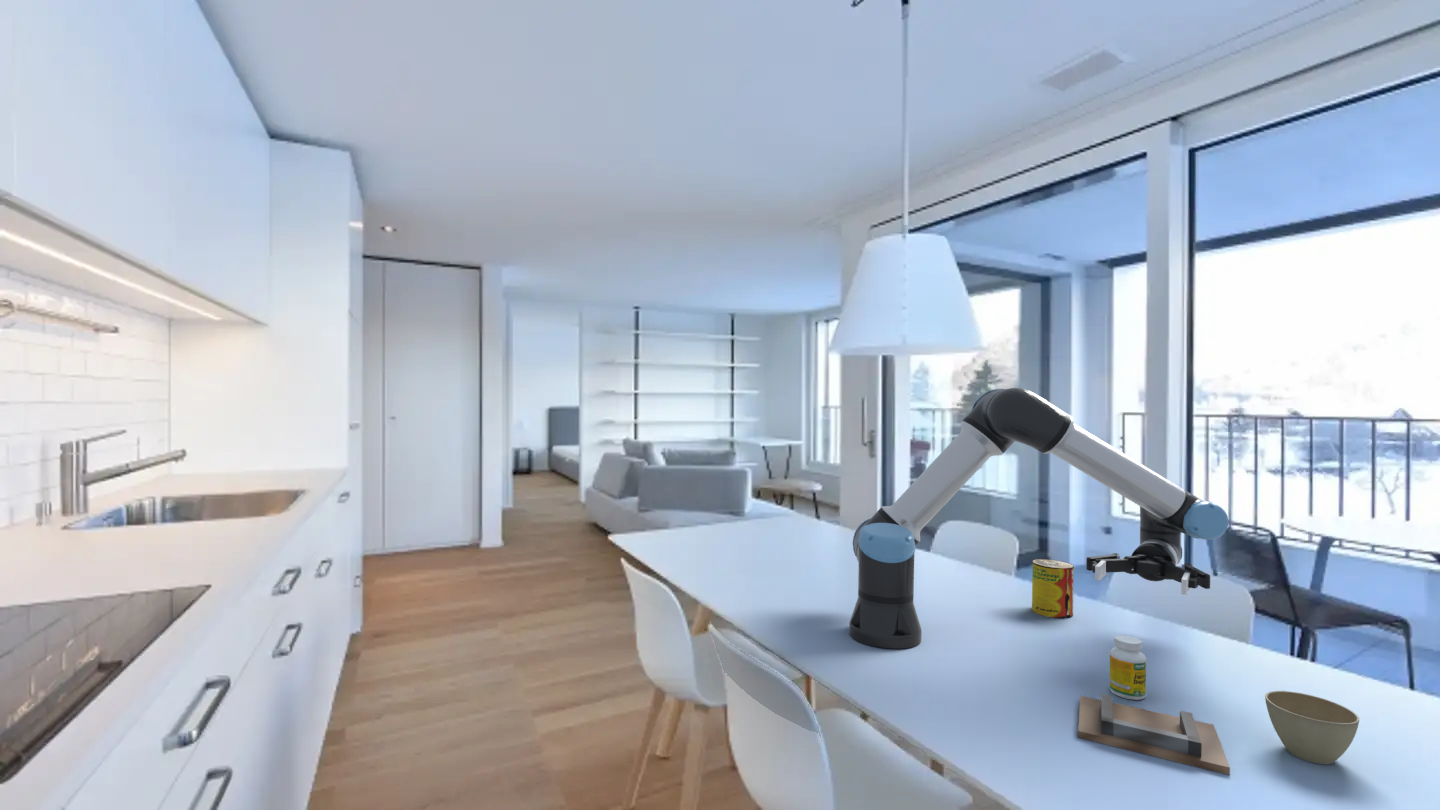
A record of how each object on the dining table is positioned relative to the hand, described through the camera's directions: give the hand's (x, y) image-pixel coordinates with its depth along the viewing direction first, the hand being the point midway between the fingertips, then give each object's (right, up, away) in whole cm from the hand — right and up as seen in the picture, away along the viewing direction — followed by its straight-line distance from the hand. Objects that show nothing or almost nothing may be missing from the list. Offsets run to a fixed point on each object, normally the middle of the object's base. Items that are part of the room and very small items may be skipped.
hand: (1138, 580), depth 118 cm
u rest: (-13, -18, -21) cm, 31 cm away
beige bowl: (+7, -18, -26) cm, 33 cm away
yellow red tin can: (+4, -19, +38) cm, 42 cm away
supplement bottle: (-7, -18, -7) cm, 21 cm away
